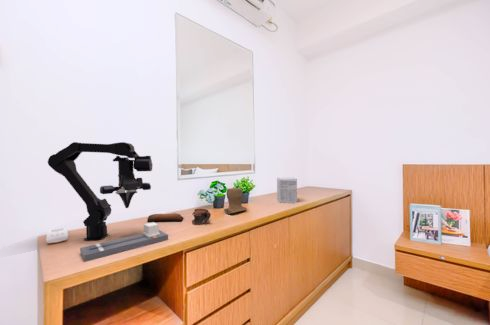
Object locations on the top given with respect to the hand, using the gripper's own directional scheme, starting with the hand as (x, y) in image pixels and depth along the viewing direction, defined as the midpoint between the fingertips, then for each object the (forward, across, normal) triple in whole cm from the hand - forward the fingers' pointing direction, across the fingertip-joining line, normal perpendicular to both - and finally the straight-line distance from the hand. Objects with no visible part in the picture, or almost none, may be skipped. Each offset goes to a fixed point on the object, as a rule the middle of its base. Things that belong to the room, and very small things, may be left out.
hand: (126, 207), depth 97 cm
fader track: (+12, -4, -13) cm, 18 cm away
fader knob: (+10, +5, -13) cm, 17 cm away
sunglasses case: (+13, +23, +12) cm, 29 cm away
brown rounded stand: (+12, +60, 0) cm, 61 cm away
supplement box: (+12, +111, -2) cm, 111 cm away
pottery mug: (+12, +34, -6) cm, 36 cm away
